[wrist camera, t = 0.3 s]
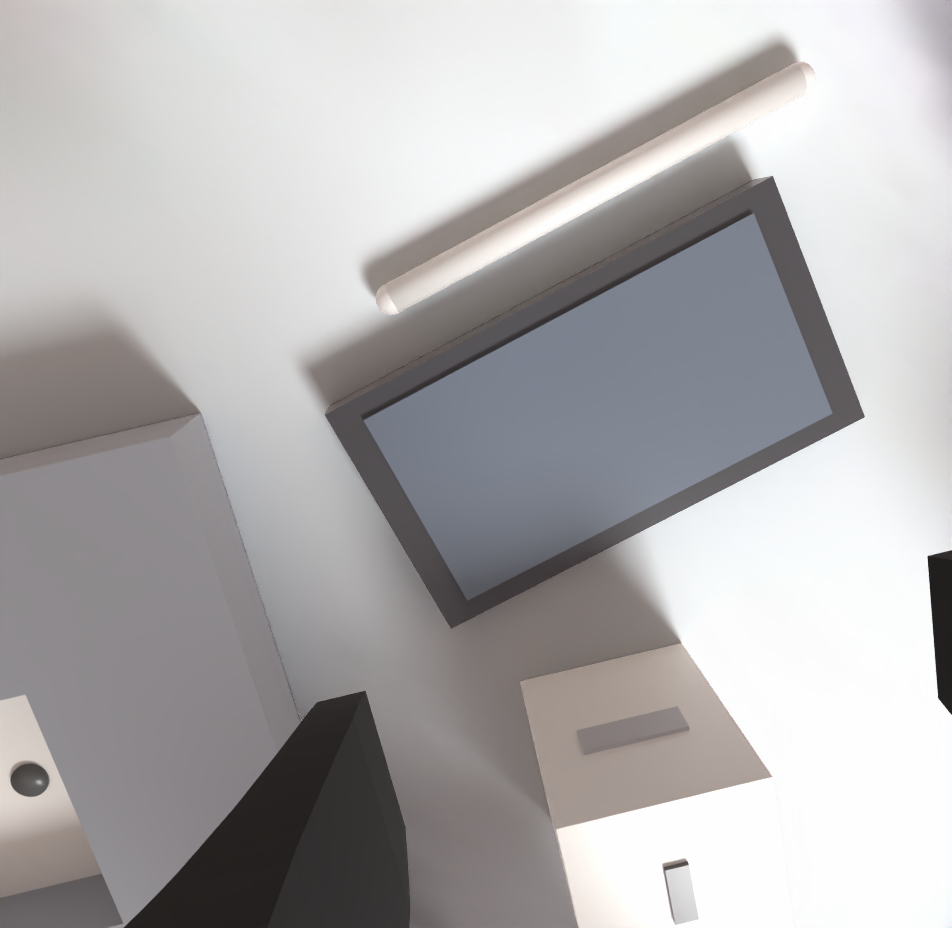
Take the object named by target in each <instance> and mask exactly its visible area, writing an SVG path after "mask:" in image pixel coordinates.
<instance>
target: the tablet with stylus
mask: <svg viewBox="0 0 952 928" xmlns="http://www.w3.org/2000/svg"><path fill="white" fill-rule="evenodd" d="M814 81H815V73H814V70H813V68H812V67H811V66H810V65H809V64H807V63H805V62H796V63H793V64H791V65H789V66H787V67H785V68H783V69H782V70H780V71H778V72H776V73H774V74H772V75H770V76H769V77H767V78H765V79H763V80H761V81H759V82H758V83H756V84H754V85H752V86H750V87H748V88H746V89H745V90H743V91H741V92H739V93H737V94H735V95H733V96H732V97H730V98H728V99H726V100H724V101H722V102H721V103H719V104H717V105H715V106H713V107H711V108H709V109H708V110H706V111H704V112H702V113H700V114H698V115H696V116H695V117H693V118H691V119H689V120H687V121H685V122H684V123H682V124H680V125H678V126H676V127H674V128H672V129H671V130H669V131H667V132H665V133H663V134H661V135H659V136H658V137H656V138H654V139H652V140H650V141H648V142H647V143H645V144H643V145H641V146H639V147H637V148H635V149H634V150H632V151H630V152H628V153H626V154H624V155H622V156H621V157H619V158H617V159H615V160H613V161H611V162H610V163H608V164H606V165H604V166H602V167H600V168H598V169H597V170H595V171H593V172H591V173H589V174H587V175H585V176H584V177H582V178H580V179H578V180H576V181H574V182H573V183H571V184H569V185H567V186H565V187H563V188H561V189H560V190H558V191H556V192H554V193H552V194H550V195H548V196H547V197H545V198H543V199H541V200H539V201H537V202H536V203H534V204H532V205H530V206H528V207H526V208H524V209H523V210H521V211H519V212H517V213H515V214H513V215H511V216H510V217H508V218H506V219H504V220H502V221H500V222H499V223H497V224H495V225H493V226H491V227H489V228H487V229H486V230H484V231H482V232H480V233H478V234H476V235H474V236H473V237H471V238H469V239H467V240H465V241H463V242H462V243H460V244H458V245H456V246H454V247H452V248H450V249H449V250H447V251H445V252H443V253H441V254H439V255H438V256H436V257H434V258H432V259H430V260H428V261H426V262H425V263H423V264H421V265H419V266H417V267H415V268H413V269H412V270H410V271H408V272H406V273H404V274H402V275H401V276H399V277H397V278H395V279H393V280H391V281H389V282H388V283H386V284H384V285H382V286H381V287H380V288H379V289H378V291H377V294H376V303H377V306H378V307H379V309H380V310H381V311H382V312H384V313H386V314H390V315H393V314H397V313H400V312H402V311H403V310H405V309H407V308H409V307H411V306H413V305H415V304H416V303H418V302H420V301H422V300H424V299H426V298H428V297H429V296H431V295H433V294H435V293H437V292H439V291H441V290H442V289H444V288H446V287H448V286H450V285H452V284H454V283H455V282H457V281H459V280H461V279H463V278H465V277H467V276H468V275H470V274H472V273H474V272H476V271H478V270H480V269H481V268H483V267H485V266H487V265H489V264H491V263H493V262H494V261H496V260H498V259H500V258H502V257H504V256H506V255H508V254H509V253H511V252H513V251H515V250H517V249H519V248H521V247H522V246H524V245H526V244H528V243H530V242H532V241H534V240H535V239H537V238H539V237H541V236H543V235H545V234H547V233H548V232H550V231H552V230H554V229H556V228H558V227H560V226H561V225H563V224H565V223H567V222H569V221H571V220H573V219H574V218H576V217H578V216H580V215H582V214H584V213H586V212H587V211H589V210H591V209H593V208H595V207H597V206H599V205H600V204H602V203H604V202H606V201H608V200H610V199H612V198H614V197H615V196H617V195H619V194H621V193H623V192H625V191H627V190H628V189H630V188H632V187H634V186H636V185H638V184H640V183H641V182H643V181H645V180H647V179H649V178H651V177H653V176H654V175H656V174H658V173H660V172H662V171H664V170H666V169H667V168H669V167H671V166H673V165H675V164H677V163H679V162H680V161H682V160H684V159H686V158H688V157H690V156H692V155H693V154H695V153H697V152H699V151H701V150H703V149H705V148H706V147H708V146H710V145H712V144H714V143H716V142H718V141H719V140H721V139H723V138H725V137H727V136H729V135H731V134H733V133H734V132H736V131H738V130H740V129H742V128H744V127H746V126H747V125H749V124H751V123H753V122H755V121H757V120H759V119H760V118H762V117H764V116H766V115H768V114H770V113H772V112H773V111H775V110H777V109H779V108H781V107H783V106H785V105H786V104H788V103H790V102H792V101H794V100H796V99H798V98H799V97H801V96H803V95H805V94H806V93H808V92H809V91H810V89H811V88H812V86H813V84H814ZM325 416H326V418H327V419H328V421H329V423H330V424H331V426H332V428H333V429H334V431H335V433H336V434H337V436H338V438H339V440H340V441H341V443H342V445H343V446H344V448H345V450H346V451H347V453H348V455H349V456H350V458H351V460H352V462H353V463H354V465H355V467H356V468H357V470H358V472H359V473H360V475H361V477H362V478H363V480H364V482H365V484H366V485H367V487H368V489H369V490H370V492H371V494H372V495H373V497H374V499H375V500H376V502H377V504H378V506H379V507H380V509H381V511H382V512H383V514H384V516H385V517H386V519H387V521H388V523H389V524H390V526H391V528H392V529H393V531H394V533H395V534H396V536H397V538H398V539H399V541H400V543H401V545H402V546H403V548H404V550H405V551H406V553H407V555H408V556H409V558H410V560H411V561H412V563H413V565H414V567H415V568H416V570H417V572H418V573H419V575H420V577H421V578H422V580H423V582H424V583H425V585H426V587H427V589H428V590H429V592H430V594H431V595H432V597H433V599H434V600H435V602H436V604H437V605H438V607H439V609H440V611H441V612H442V614H443V616H444V617H445V619H446V621H447V622H448V624H449V626H450V628H453V627H455V626H457V625H459V624H461V623H463V622H465V621H467V620H469V619H471V618H473V617H475V616H477V615H479V614H481V613H483V612H484V611H486V610H488V609H490V608H492V607H494V606H496V605H498V604H500V603H502V602H504V601H506V600H508V599H510V598H512V597H514V596H516V595H518V594H520V593H522V592H524V591H526V590H528V589H529V588H531V587H533V586H535V585H537V584H539V583H541V582H543V581H545V580H547V579H549V578H551V577H553V576H555V575H557V574H559V573H561V572H563V571H565V570H567V569H569V568H571V567H573V566H574V565H576V564H578V563H580V562H582V561H584V560H586V559H588V558H590V557H592V556H594V555H596V554H598V553H600V552H602V551H604V550H606V549H608V548H610V547H612V546H614V545H616V544H618V543H619V542H621V541H623V540H625V539H627V538H629V537H631V536H633V535H635V534H637V533H639V532H641V531H643V530H645V529H647V528H649V527H651V526H653V525H655V524H657V523H659V522H661V521H662V520H664V519H666V518H668V517H670V516H672V515H674V514H676V513H678V512H680V511H682V510H684V509H686V508H688V507H690V506H692V505H694V504H696V503H698V502H700V501H702V500H704V499H706V498H707V497H709V496H711V495H713V494H715V493H717V492H719V491H721V490H723V489H725V488H727V487H729V486H731V485H733V484H735V483H737V482H739V481H741V480H743V479H745V478H747V477H749V476H751V475H752V474H754V473H756V472H758V471H760V470H762V469H764V468H766V467H768V466H770V465H772V464H774V463H776V462H778V461H780V460H782V459H784V458H786V457H788V456H790V455H792V454H794V453H795V452H797V451H799V450H801V449H803V448H805V447H807V446H809V445H811V444H813V443H815V442H817V441H819V440H821V439H823V438H825V437H827V436H829V435H831V434H833V433H835V432H837V431H839V430H840V429H842V428H844V427H846V426H848V425H850V424H852V423H854V422H856V421H858V420H860V419H862V418H864V417H865V416H864V414H863V411H862V408H861V406H860V403H859V401H858V398H857V395H856V393H855V390H854V387H853V385H852V382H851V380H850V377H849V374H848V372H847V369H846V367H845V364H844V361H843V359H842V356H841V353H840V351H839V348H838V346H837V343H836V340H835V338H834V335H833V332H832V330H831V327H830V325H829V322H828V319H827V317H826V314H825V312H824V309H823V306H822V304H821V301H820V298H819V296H818V293H817V291H816V288H815V285H814V283H813V280H812V277H811V275H810V272H809V270H808V267H807V264H806V262H805V259H804V257H803V254H802V251H801V249H800V246H799V243H798V241H797V238H796V236H795V233H794V230H793V228H792V225H791V223H790V220H789V217H788V215H787V212H786V209H785V207H784V204H783V202H782V199H781V196H780V194H779V191H778V188H777V186H776V183H775V181H774V178H773V176H770V177H765V178H760V179H755V180H752V181H750V182H749V183H747V184H745V185H743V186H741V187H739V188H737V189H735V190H734V191H732V192H730V193H728V194H726V195H724V196H722V197H720V198H719V199H717V200H715V201H713V202H711V203H709V204H707V205H705V206H704V207H702V208H700V209H698V210H696V211H694V212H692V213H690V214H689V215H687V216H685V217H683V218H681V219H679V220H677V221H675V222H674V223H672V224H670V225H668V226H666V227H664V228H662V229H660V230H659V231H657V232H655V233H653V234H651V235H649V236H647V237H645V238H644V239H642V240H640V241H638V242H636V243H634V244H632V245H630V246H629V247H627V248H625V249H623V250H621V251H619V252H617V253H615V254H614V255H612V256H610V257H608V258H606V259H604V260H602V261H600V262H599V263H597V264H595V265H593V266H591V267H589V268H587V269H585V270H584V271H582V272H580V273H578V274H576V275H574V276H572V277H570V278H569V279H567V280H565V281H563V282H561V283H559V284H557V285H555V286H554V287H552V288H550V289H548V290H546V291H544V292H542V293H540V294H539V295H537V296H535V297H533V298H531V299H529V300H527V301H525V302H524V303H522V304H520V305H518V306H516V307H514V308H512V309H510V310H509V311H507V312H505V313H503V314H501V315H499V316H497V317H495V318H494V319H492V320H490V321H488V322H486V323H484V324H482V325H480V326H479V327H477V328H475V329H473V330H471V331H469V332H467V333H465V334H464V335H462V336H460V337H458V338H456V339H454V340H452V341H450V342H449V343H447V344H445V345H443V346H441V347H439V348H437V349H435V350H434V351H432V352H430V353H428V354H426V355H424V356H422V357H420V358H419V359H417V360H415V361H413V362H411V363H409V364H407V365H405V366H404V367H402V368H400V369H398V370H396V371H394V372H392V373H390V374H389V375H387V376H385V377H383V378H381V379H379V380H377V381H375V382H374V383H372V384H370V385H368V386H366V387H364V388H362V389H360V390H359V391H357V392H355V393H353V394H351V395H349V396H347V397H345V398H344V399H342V400H340V401H338V402H336V403H334V404H332V405H330V406H329V408H328V410H327V412H326V414H325Z"/></svg>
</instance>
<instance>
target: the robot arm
mask: <svg viewBox="0 0 952 928" xmlns="http://www.w3.org/2000/svg"><path fill="white" fill-rule="evenodd" d="M928 568H929V582H930V595H931V608H932V622H933V635H934V648H935V661H936V675H937V688H938V699H939V700H940V701H941V702H942V703H943V705H944V706H945V707H946V708H947V710H948V711H949V712H950V713H951V714H952V550H951V551H947V552H943V553H939V554H934V555H930V556H928ZM409 920H410V895H409V875H408V859H407V845H406V830H405V825H404V821H403V818H402V814H401V811H400V808H399V804H398V801H397V797H396V794H395V791H394V787H393V784H392V780H391V777H390V773H389V770H388V767H387V763H386V760H385V756H384V753H383V750H382V746H381V743H380V739H379V736H378V732H377V729H376V726H375V722H374V719H373V715H372V712H371V709H370V705H369V702H368V698H367V695H366V691H363V692H358V693H354V694H350V695H346V696H342V697H337V698H333V699H329V700H325V701H321V702H317V703H316V705H315V706H314V707H313V708H312V709H311V710H310V711H309V713H308V714H307V715H306V716H305V718H304V719H303V720H302V721H301V723H300V724H299V725H298V727H297V728H296V729H295V731H294V732H293V733H292V734H291V736H290V737H289V738H288V740H287V741H286V742H285V744H284V745H283V746H282V748H281V749H280V750H279V751H278V753H277V754H276V755H275V757H274V758H273V759H272V761H271V762H270V763H269V764H268V766H267V767H266V768H265V769H264V771H263V772H262V773H261V775H260V776H259V777H258V778H257V780H256V781H255V782H254V783H253V785H252V786H251V787H250V788H249V790H248V791H247V792H246V794H245V795H244V796H243V797H242V799H241V800H240V801H239V802H238V804H237V805H236V806H235V807H234V808H233V810H232V811H231V812H230V813H229V814H228V815H227V816H226V818H225V819H224V820H223V821H222V822H221V823H220V825H219V826H218V827H217V828H216V829H215V830H214V831H213V833H212V834H211V835H210V836H209V837H208V838H207V839H206V841H205V842H204V843H203V844H202V845H201V846H200V847H199V849H198V850H197V851H196V852H195V853H194V854H193V856H192V857H191V858H190V859H189V860H188V861H187V862H186V864H185V865H184V866H183V867H182V868H181V869H180V870H179V872H178V873H177V874H176V875H175V876H174V877H173V878H172V879H171V880H170V881H169V882H168V883H167V884H166V885H165V887H164V888H163V889H162V890H161V891H160V892H159V893H158V894H157V895H156V896H155V897H154V898H153V899H152V900H151V901H150V902H149V903H148V904H147V905H146V906H145V907H144V908H143V909H142V910H141V911H140V912H139V913H138V914H137V915H136V916H135V917H134V918H133V919H132V920H131V921H130V922H129V923H128V924H127V925H126V926H125V927H124V928H409Z"/></svg>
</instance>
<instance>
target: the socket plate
mask: <svg viewBox="0 0 952 928" xmlns="http://www.w3.org/2000/svg"><path fill="white" fill-rule="evenodd" d="M300 723H301V722H300V719H299V716H298V713H297V709H296V706H295V703H294V700H293V697H292V694H291V691H290V688H289V685H288V682H287V678H286V675H285V672H284V669H283V666H282V663H281V660H280V657H279V654H278V651H277V647H276V644H275V641H274V638H273V635H272V632H271V629H270V626H269V623H268V620H267V617H266V613H265V610H264V607H263V604H262V601H261V598H260V595H259V592H258V589H257V586H256V582H255V579H254V576H253V573H252V570H251V567H250V564H249V561H248V558H247V555H246V551H245V548H244V545H243V542H242V539H241V536H240V533H239V530H238V527H237V524H236V521H235V517H234V514H233V511H232V508H231V505H230V502H229V499H228V496H227V493H226V490H225V486H224V483H223V480H222V477H221V474H220V471H219V468H218V465H217V462H216V459H215V455H214V452H213V449H212V446H211V443H210V440H209V437H208V434H207V431H206V428H205V424H204V421H203V418H202V415H201V413H198V414H194V415H189V416H185V417H181V418H176V419H172V420H168V421H163V422H159V423H155V424H150V425H146V426H142V427H137V428H133V429H129V430H124V431H120V432H116V433H111V434H107V435H103V436H98V437H94V438H90V439H86V440H81V441H77V442H73V443H68V444H64V445H60V446H55V447H51V448H47V449H42V450H38V451H34V452H29V453H25V454H21V455H16V456H12V457H8V458H3V459H0V928H124V927H125V926H126V925H127V924H128V923H129V922H130V921H131V920H132V919H133V918H134V917H135V916H136V915H137V914H138V913H139V912H140V911H141V910H142V909H143V908H144V907H145V906H146V905H147V904H148V903H149V902H150V901H151V900H152V899H153V898H154V897H155V896H156V895H157V894H158V893H159V892H160V891H161V890H162V889H163V888H164V887H165V885H166V884H167V883H168V882H169V881H170V880H171V879H172V878H173V877H174V876H175V875H176V874H177V873H178V872H179V870H180V869H181V868H182V867H183V866H184V865H185V864H186V862H187V861H188V860H189V859H190V858H191V857H192V856H193V854H194V853H195V852H196V851H197V850H198V849H199V847H200V846H201V845H202V844H203V843H204V842H205V841H206V839H207V838H208V837H209V836H210V835H211V834H212V833H213V831H214V830H215V829H216V828H217V827H218V826H219V825H220V823H221V822H222V821H223V820H224V819H225V818H226V816H227V815H228V814H229V813H230V812H231V811H232V810H233V808H234V807H235V806H236V805H237V804H238V802H239V801H240V800H241V799H242V797H243V796H244V795H245V794H246V792H247V791H248V790H249V788H250V787H251V786H252V785H253V783H254V782H255V781H256V780H257V778H258V777H259V776H260V775H261V773H262V772H263V771H264V769H265V768H266V767H267V766H268V764H269V763H270V762H271V761H272V759H273V758H274V757H275V755H276V754H277V753H278V751H279V750H280V749H281V748H282V746H283V745H284V744H285V742H286V741H287V740H288V738H289V737H290V736H291V734H292V733H293V732H294V731H295V729H296V728H297V727H298V725H299V724H300Z"/></svg>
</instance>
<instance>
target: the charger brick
mask: <svg viewBox="0 0 952 928" xmlns="http://www.w3.org/2000/svg"><path fill="white" fill-rule="evenodd" d="M520 685H521V690H522V694H523V698H524V703H525V707H526V711H527V716H528V720H529V724H530V729H531V733H532V737H533V742H534V746H535V750H536V755H537V759H538V763H539V768H540V772H541V776H542V781H543V785H544V789H545V794H546V798H547V802H548V806H549V811H550V815H551V819H552V823H553V828H554V832H555V836H556V840H557V844H558V848H559V852H560V856H561V861H562V865H563V869H564V873H565V877H566V881H567V885H568V889H569V893H570V898H571V902H572V906H573V910H574V914H575V918H576V922H577V926H578V928H793V923H792V916H791V909H790V901H789V894H788V887H787V879H786V872H785V865H784V857H783V850H782V843H781V836H780V828H779V821H778V814H777V806H776V799H775V792H774V784H773V777H772V776H771V774H770V773H769V771H768V770H767V768H766V767H765V765H764V764H763V762H762V761H761V759H760V758H759V756H758V755H757V754H756V752H755V751H754V749H753V748H752V746H751V745H750V743H749V742H748V740H747V739H746V737H745V736H744V734H743V733H742V731H741V730H740V729H739V727H738V726H737V724H736V723H735V721H734V720H733V718H732V717H731V715H730V714H729V712H728V711H727V709H726V708H725V706H724V705H723V703H722V702H721V701H720V699H719V698H718V696H717V695H716V693H715V692H714V690H713V689H712V687H711V686H710V684H709V683H708V681H707V680H706V678H705V677H704V675H703V674H702V673H701V671H700V670H699V668H698V667H697V665H696V664H695V662H694V661H693V659H692V658H691V656H690V655H689V653H688V652H687V650H686V649H685V648H684V646H683V645H682V643H679V644H674V645H670V646H666V647H662V648H658V649H653V650H649V651H645V652H641V653H637V654H633V655H628V656H624V657H620V658H616V659H612V660H607V661H603V662H599V663H595V664H591V665H586V666H582V667H578V668H574V669H570V670H566V671H561V672H557V673H553V674H549V675H545V676H540V677H536V678H532V679H528V680H524V681H520Z"/></svg>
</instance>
